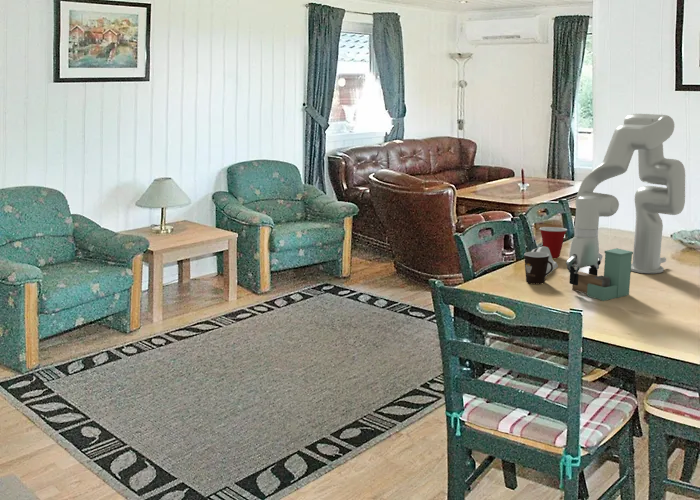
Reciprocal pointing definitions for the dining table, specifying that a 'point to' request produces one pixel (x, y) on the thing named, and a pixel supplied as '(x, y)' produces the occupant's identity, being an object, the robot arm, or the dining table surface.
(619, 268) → the headboard post
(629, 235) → the dining table surface
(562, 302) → the dining table surface
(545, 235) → the plastic cup
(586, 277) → the brown wooden block
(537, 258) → the coffee mug
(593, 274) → the robot arm
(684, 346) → the dining table surface
